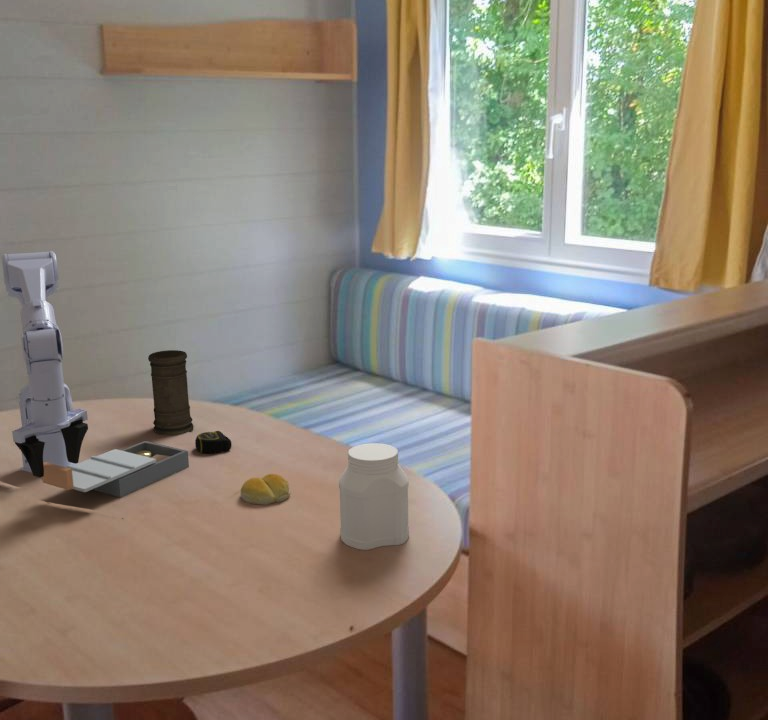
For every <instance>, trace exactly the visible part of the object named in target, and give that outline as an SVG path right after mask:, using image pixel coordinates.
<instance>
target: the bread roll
mask: <svg viewBox="0 0 768 720" xmlns="http://www.w3.org/2000/svg"><path fill="white" fill-rule="evenodd" d="M291 493H292V492H291V490H290V486H289V483H288V480H287V479H285V477H284V476H282V475H280V474H276V473H269V474H266V475H264V476H263V477H262V478H259V477H252V478H249V479H247V480H246V481H244V483H243V484H242V486H241V489H240V496H241V498H242V500H243V501H244V502H246V503H249V504H254V505H268V504H273V503H274V502H276V503H279V502H283V501H284V500H286V499H288V498H289V497H290V495H291Z"/></svg>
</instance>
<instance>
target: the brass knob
mask: <svg viewBox="0 0 768 720" xmlns="http://www.w3.org/2000/svg"><path fill="white" fill-rule="evenodd" d="M135 454H137V455H142V456H146V457H150V458H151V457H152V455H151V452H150V451H139V452H136V453H135ZM143 468H145V467H143Z"/></svg>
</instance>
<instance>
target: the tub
mask: <svg viewBox="0 0 768 720" xmlns="http://www.w3.org/2000/svg"><path fill="white" fill-rule="evenodd" d="M120 450H121V451H125V452H129V453H133V454H135V453H136V452H139V451H150V452H151V455H152V457H153V456H155V455H157V454H158V455H165V456H170V457H168V458H166V459H163V460H161V461H159V462H156V463H154V464H152V465H149V466H147V467H145V468H141V469H139V470H136V471H134V472H132V473H129V474H127V475H125V476H122V477H120V478H117V479H115V480H113V481H110V482H108V483H106V484H103V485H101V486H99V487H96V488H94V489H92V491H93V490H94V491H96V492H100V493H102V494H107V495H110V496H114V497H118V498H123V497H125V496H128V495H130V494H132V493H134V492H136V491H138V490H140V489H143V488H145V487H148V486H150V485H153V484H155V483H156V482H159V481H161V480H163V479H166V478H167V477H170V476H173V475H175V474H176V473H179V472H181V471H183V470H185V469H188V468H189V467H190V464H189V463H190V462H189V451H188V450H186V449H183V448H182V449H181V448H178V447H173V446H168V445H164V444H160V443H156V442H151V441H147V440H144V441H142V442H138V443H136V444H133V445H131V446H128V447H126V448H124V449H120Z"/></svg>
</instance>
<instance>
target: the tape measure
mask: <svg viewBox="0 0 768 720" xmlns="http://www.w3.org/2000/svg"><path fill="white" fill-rule="evenodd" d="M194 441H195V449H196V450H197V452H199V453H201V454H204V455H205V454H206V455H215V454H219V453H220V454H221V453H223V452H227V451H229V450H231V449H232V440H231V439H230V438H229V437H228V436H226V435H225V434H223V432H221V431H220V430H216V431H205V432H201V433H199V434H197V436H196V438H195V440H194Z"/></svg>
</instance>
